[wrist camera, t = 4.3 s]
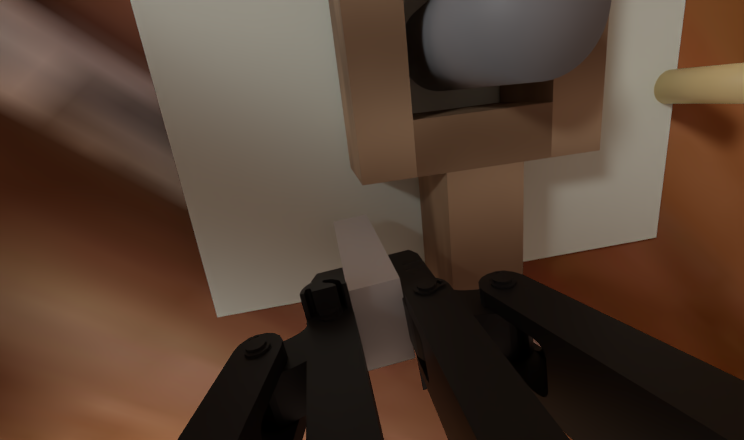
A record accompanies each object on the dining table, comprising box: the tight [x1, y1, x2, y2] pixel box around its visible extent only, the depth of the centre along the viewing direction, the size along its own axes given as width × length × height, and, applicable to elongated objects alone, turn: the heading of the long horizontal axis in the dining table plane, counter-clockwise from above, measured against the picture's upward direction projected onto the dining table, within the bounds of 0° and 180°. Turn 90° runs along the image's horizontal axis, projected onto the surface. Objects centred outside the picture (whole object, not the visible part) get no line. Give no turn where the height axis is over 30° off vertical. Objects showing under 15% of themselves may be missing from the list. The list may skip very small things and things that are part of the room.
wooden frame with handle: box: [328, 0, 609, 290], centre depth 16 cm, size 18×9×4 cm, turn 7°
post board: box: [130, 0, 744, 317], centre depth 14 cm, size 24×22×9 cm
